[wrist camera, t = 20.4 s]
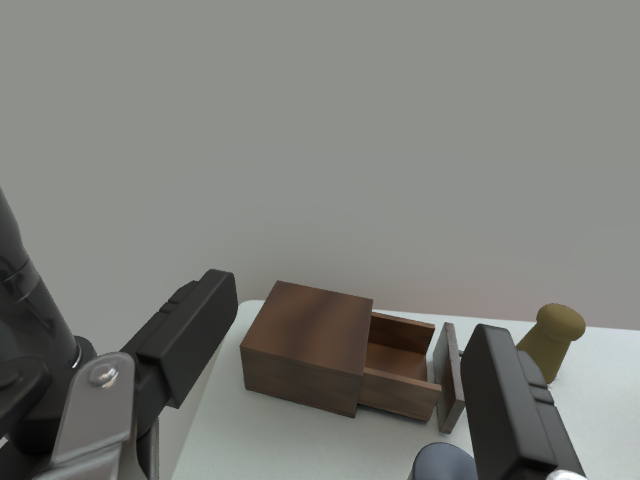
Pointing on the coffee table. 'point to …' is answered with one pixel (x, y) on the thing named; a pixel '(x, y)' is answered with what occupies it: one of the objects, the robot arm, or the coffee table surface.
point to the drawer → (412, 370)
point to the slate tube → (443, 464)
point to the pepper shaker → (552, 337)
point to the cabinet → (308, 347)
